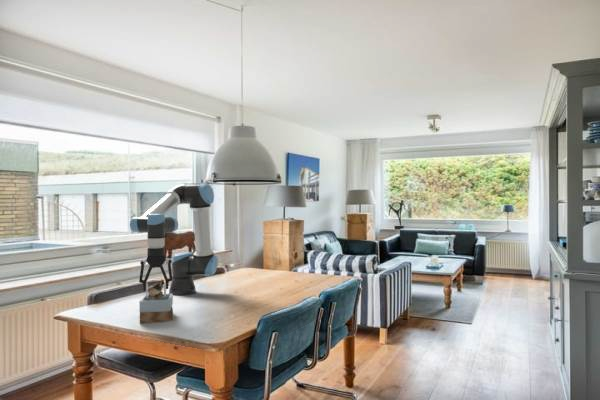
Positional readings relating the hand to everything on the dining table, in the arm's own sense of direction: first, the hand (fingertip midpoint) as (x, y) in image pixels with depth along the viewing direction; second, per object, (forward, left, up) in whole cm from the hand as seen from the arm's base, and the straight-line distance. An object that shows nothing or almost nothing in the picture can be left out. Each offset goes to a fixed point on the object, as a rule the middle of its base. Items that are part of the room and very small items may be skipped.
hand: (156, 296), depth 193 cm
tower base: (0, 0, -10) cm, 10 cm away
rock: (0, 0, 0) cm, 1 cm away
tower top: (0, 0, -5) cm, 5 cm away
